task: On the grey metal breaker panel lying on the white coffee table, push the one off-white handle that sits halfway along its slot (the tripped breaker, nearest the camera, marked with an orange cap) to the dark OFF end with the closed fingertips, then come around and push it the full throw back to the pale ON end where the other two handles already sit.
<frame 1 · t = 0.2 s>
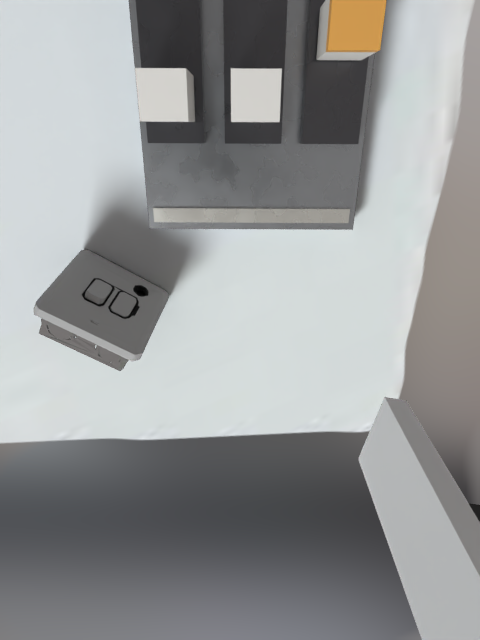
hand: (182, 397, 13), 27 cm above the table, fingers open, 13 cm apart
panel: (253, 44, 32), on the table
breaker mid: (254, 97, 28), point 6 cm above the table, slide at 4.0 cm
tripped breaker: (348, 28, 26), point 6 cm above the table, slide at 0.0 cm
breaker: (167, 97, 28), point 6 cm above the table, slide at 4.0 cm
electrical switch: (120, 292, 41), on the table
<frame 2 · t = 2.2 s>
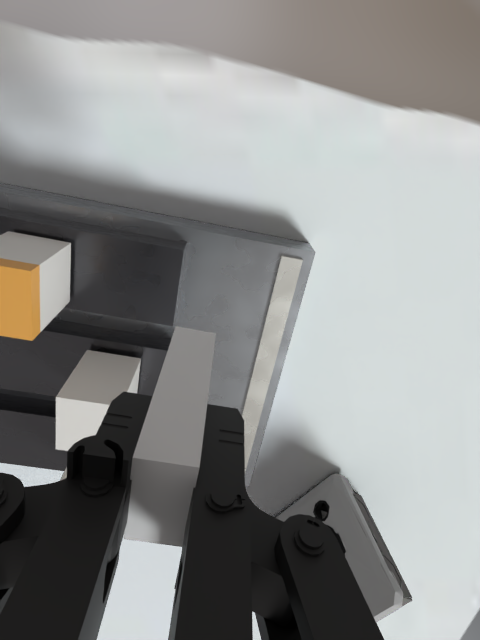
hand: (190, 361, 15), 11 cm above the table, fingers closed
panel: (66, 335, 27), on the table
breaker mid: (101, 400, 22), point 6 cm above the table, slide at 4.0 cm
tripped breaker: (19, 282, 19), point 6 cm above the table, slide at 0.0 cm
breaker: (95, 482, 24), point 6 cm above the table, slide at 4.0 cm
electrical switch: (319, 510, 34), on the table
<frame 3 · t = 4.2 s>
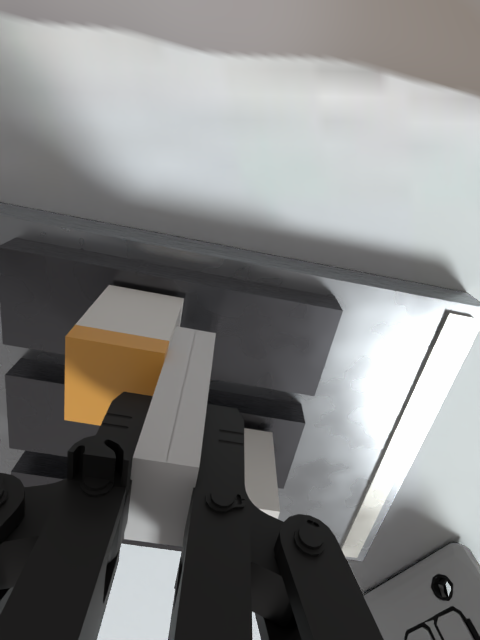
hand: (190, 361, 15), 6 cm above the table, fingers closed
panel: (166, 393, 23), on the table
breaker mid: (234, 489, 18), point 6 cm above the table, slide at 4.0 cm
tripped breaker: (129, 353, 15), point 6 cm above the table, slide at -1.0 cm, touching gripper
electrical switch: (427, 578, 30), on the table
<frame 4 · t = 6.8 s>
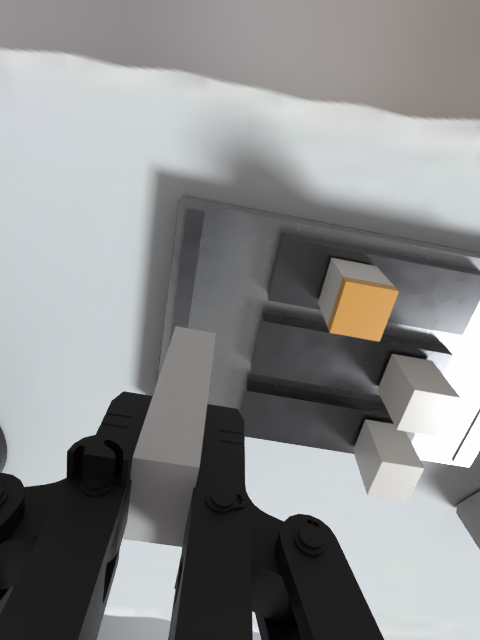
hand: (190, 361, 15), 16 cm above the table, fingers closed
panel: (340, 341, 33), on the table
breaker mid: (415, 393, 28), point 6 cm above the table, slide at 4.0 cm
tripped breaker: (354, 297, 25), point 6 cm above the table, slide at -2.2 cm
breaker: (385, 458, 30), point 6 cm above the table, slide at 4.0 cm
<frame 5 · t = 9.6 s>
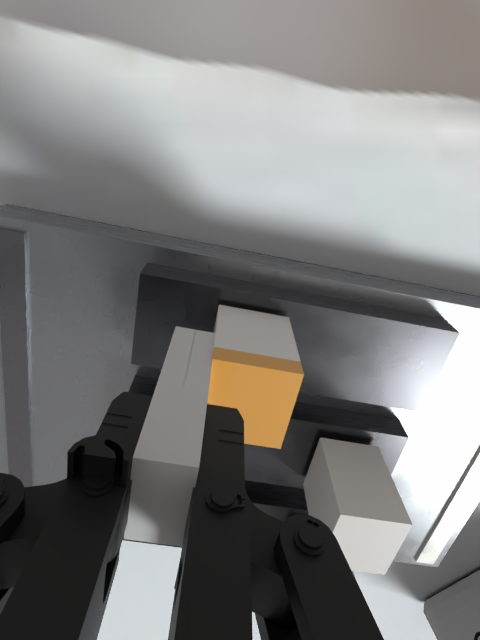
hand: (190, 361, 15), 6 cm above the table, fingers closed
panel: (259, 407, 24), on the table
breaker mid: (350, 501, 19), point 6 cm above the table, slide at 4.0 cm
tripped breaker: (247, 371, 16), point 6 cm above the table, slide at -2.1 cm, touching gripper
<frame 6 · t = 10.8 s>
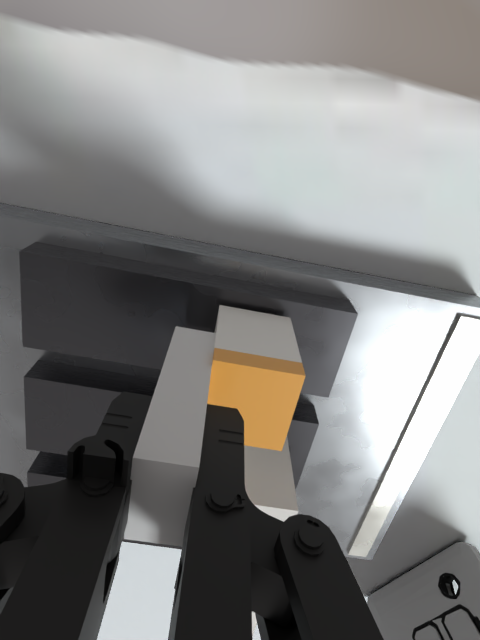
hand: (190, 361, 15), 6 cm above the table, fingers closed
panel: (179, 394, 23), on the table
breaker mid: (250, 489, 18), point 6 cm above the table, slide at 4.0 cm
tripped breaker: (248, 372, 16), point 6 cm above the table, slide at 2.7 cm, touching gripper
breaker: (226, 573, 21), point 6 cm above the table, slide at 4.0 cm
electrical switch: (434, 577, 31), on the table
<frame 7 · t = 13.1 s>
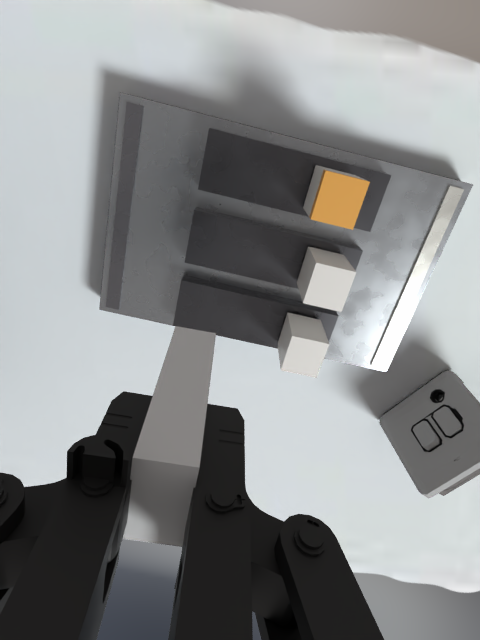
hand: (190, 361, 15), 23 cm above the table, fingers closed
panel: (270, 245, 37), on the table
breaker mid: (324, 277, 32), point 6 cm above the table, slide at 4.0 cm
tripped breaker: (333, 196, 29), point 6 cm above the table, slide at 2.7 cm
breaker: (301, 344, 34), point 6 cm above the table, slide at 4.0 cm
electrical switch: (427, 404, 44), on the table
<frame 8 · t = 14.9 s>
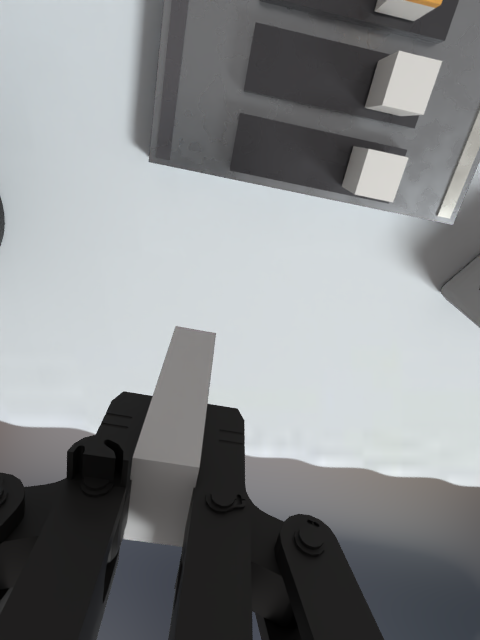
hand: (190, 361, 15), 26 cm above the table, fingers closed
panel: (329, 82, 34), on the table
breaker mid: (400, 86, 29), point 6 cm above the table, slide at 4.0 cm
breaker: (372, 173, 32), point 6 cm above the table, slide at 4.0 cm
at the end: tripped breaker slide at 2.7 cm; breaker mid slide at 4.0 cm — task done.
